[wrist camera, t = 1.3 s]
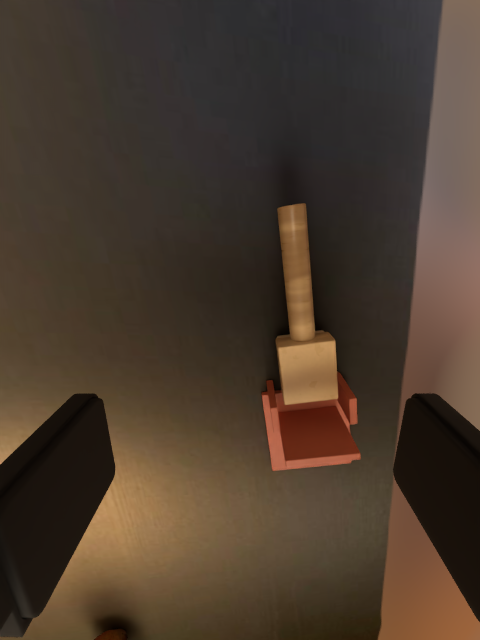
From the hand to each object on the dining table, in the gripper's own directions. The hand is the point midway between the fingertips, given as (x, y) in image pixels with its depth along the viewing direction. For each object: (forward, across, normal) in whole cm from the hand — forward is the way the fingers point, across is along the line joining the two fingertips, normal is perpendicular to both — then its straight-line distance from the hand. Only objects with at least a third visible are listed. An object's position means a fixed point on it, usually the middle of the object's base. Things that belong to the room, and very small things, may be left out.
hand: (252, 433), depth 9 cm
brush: (+16, -4, 0) cm, 16 cm away
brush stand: (+16, -6, +12) cm, 21 cm away
